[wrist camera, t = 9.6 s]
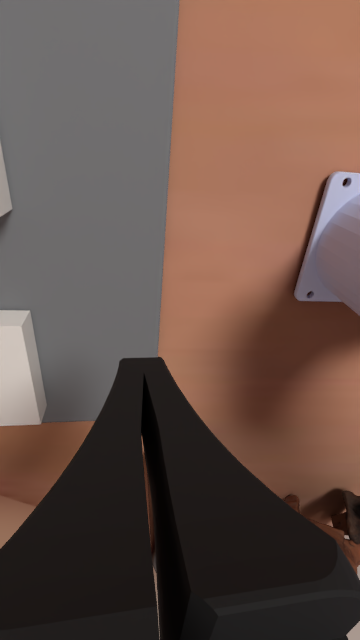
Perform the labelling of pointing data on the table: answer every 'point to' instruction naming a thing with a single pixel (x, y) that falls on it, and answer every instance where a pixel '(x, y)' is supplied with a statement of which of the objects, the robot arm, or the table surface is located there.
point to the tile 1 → (4, 188)
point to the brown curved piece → (341, 526)
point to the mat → (86, 185)
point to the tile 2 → (19, 371)
